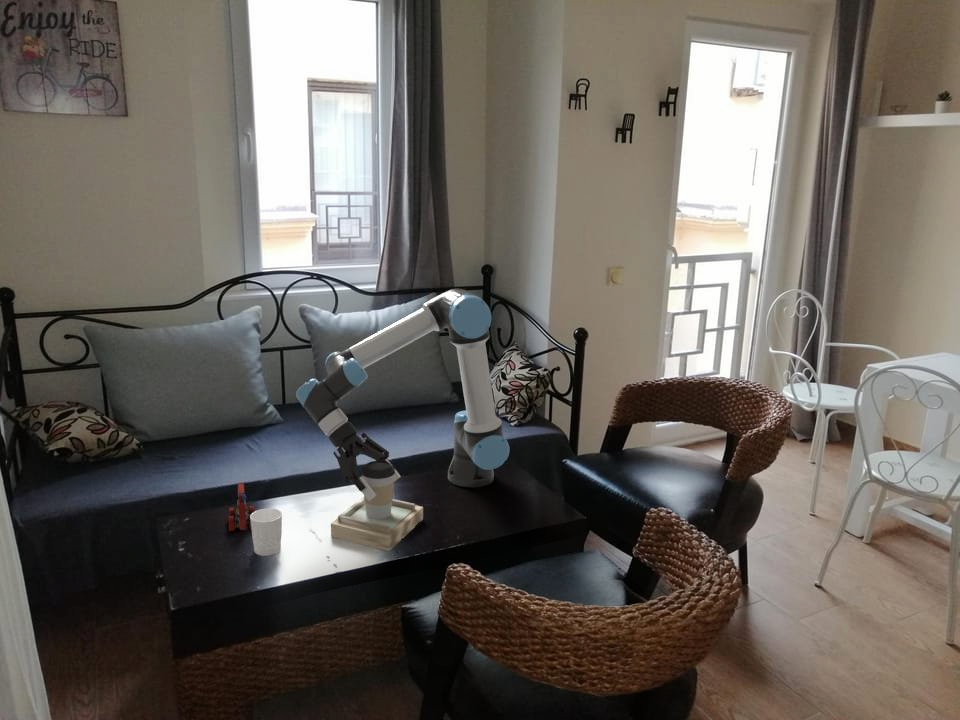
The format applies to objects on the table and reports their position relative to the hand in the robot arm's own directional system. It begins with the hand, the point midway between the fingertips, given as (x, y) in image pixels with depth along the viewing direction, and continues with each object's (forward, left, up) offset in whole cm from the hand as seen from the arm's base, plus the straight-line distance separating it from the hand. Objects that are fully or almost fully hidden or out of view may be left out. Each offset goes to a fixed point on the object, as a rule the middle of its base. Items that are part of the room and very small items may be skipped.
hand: (385, 488), depth 199 cm
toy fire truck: (+15, -37, -13) cm, 42 cm away
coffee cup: (0, -2, -8) cm, 9 cm away
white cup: (+23, -22, -13) cm, 35 cm away
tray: (0, -2, -12) cm, 13 cm away
